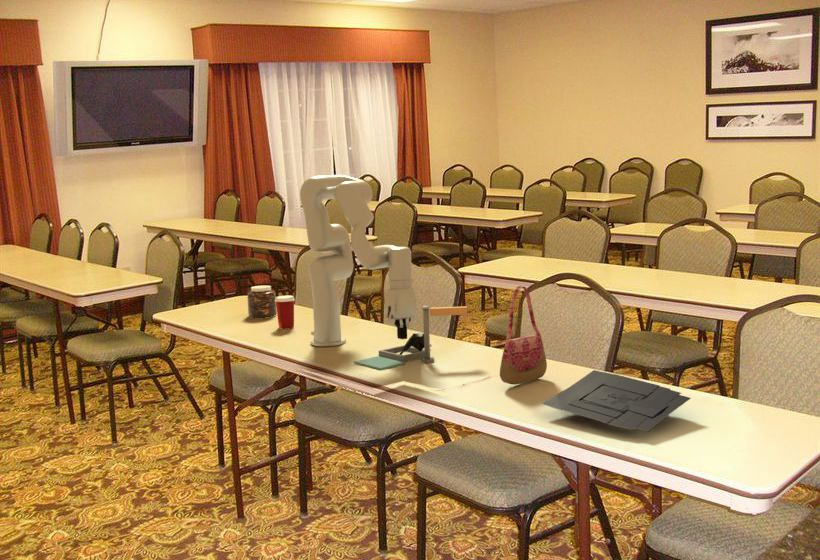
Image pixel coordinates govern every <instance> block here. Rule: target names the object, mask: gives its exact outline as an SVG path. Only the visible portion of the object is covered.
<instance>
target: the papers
mask: <svg viewBox="0 0 820 560" xmlns="http://www.w3.org/2000/svg"><path fill="white" fill-rule="evenodd" d="M681 394H682V392H680V391H676V390H672V389H671V388H668V387H666V386H665V387H664V386H661V385H658V384H656V383H651V382H647V381H643V380H639V379H636V378H631V377H627V376H623V375H620V374H615V373H610V372H605V371H600V370H595V369H594V370H592V371H591V372H589V373H587V374H586V375H585V376H583V377H582V378H580V379H579V380H578V381H576V382H574V383H573V384H571V385H570V386H569V387H567V388H566V389H563V390H562V391H560V392H558V393H557V394H555V395H553V396H551V397H550V398H548V399H546V400H545V401H543V402H542V403H541V405H543V406H546V407H550V408H551V409H552V408H553V409H555V410H560V411H565V412H567V413H572V414H575V415H578V416H582V417H584V418H588V419H592V420H595V421H598V422H601V423H604V424H606V425H609V426H613V427H616V428H619V427H620V428H623V429H626V430H630V431H631V430H632V431H633V430H634V429H637V430H639V431H643V432H649V431H650V430H652V429H653V428H654V427H655V426H657V424H659V423H660V422H661V421H663V420H664V419H665V418H667V417H668V416H669V415H670V414H672V413H673V412H674V411H676V410H677V409H679V408H680V407H682V406H683V405H684V404H685V403H687V402H688V401H689V400H691V399H692V397H690V396H685V395H681Z"/></svg>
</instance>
